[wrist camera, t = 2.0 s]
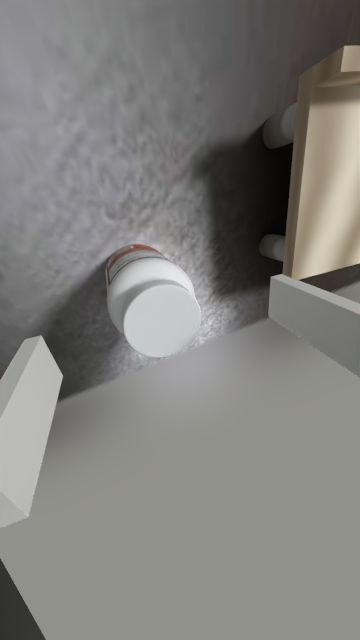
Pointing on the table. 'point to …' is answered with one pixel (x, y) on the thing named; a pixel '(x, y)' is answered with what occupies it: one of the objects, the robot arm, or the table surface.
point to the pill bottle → (151, 301)
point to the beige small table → (320, 169)
